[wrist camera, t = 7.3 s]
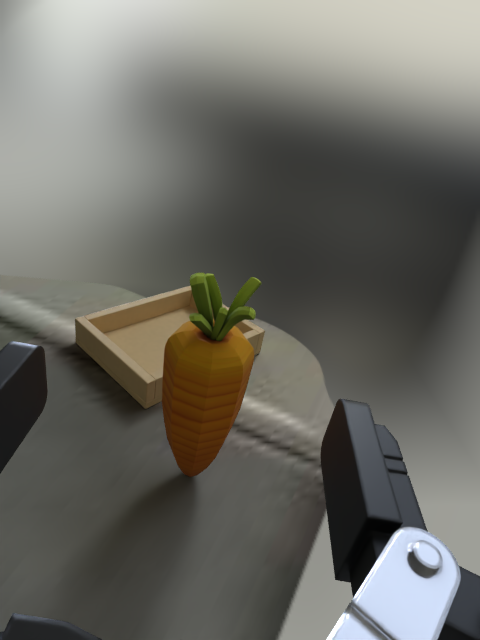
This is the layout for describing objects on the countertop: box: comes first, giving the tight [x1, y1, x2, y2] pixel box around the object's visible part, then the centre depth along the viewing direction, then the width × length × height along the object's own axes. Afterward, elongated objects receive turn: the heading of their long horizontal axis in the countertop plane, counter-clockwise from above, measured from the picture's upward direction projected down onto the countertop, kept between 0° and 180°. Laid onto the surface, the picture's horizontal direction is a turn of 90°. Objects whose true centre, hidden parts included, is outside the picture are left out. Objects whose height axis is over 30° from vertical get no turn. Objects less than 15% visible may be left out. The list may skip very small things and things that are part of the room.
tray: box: [75, 286, 265, 409], centre depth 40 cm, size 14×11×3 cm
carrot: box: [162, 273, 261, 477], centre depth 25 cm, size 5×5×15 cm
